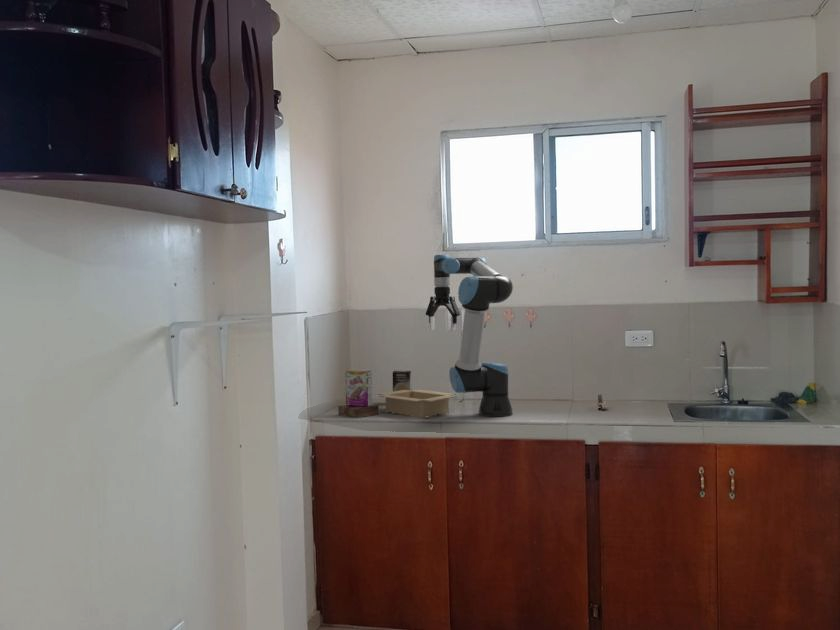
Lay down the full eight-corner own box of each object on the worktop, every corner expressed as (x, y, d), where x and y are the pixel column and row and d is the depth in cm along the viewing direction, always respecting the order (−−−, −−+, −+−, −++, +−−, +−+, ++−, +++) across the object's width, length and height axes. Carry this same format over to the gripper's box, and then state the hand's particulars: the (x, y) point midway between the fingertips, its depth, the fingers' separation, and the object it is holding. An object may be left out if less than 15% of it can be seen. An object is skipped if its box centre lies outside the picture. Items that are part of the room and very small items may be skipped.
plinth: (378, 414, 346) (378, 405, 346) (357, 418, 337) (357, 409, 337) (359, 411, 355) (359, 402, 355) (338, 414, 346) (338, 406, 346)
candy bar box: (345, 406, 345) (344, 370, 344) (350, 404, 350) (349, 369, 349) (368, 407, 341) (367, 371, 341) (372, 405, 346) (371, 369, 345)
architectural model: (605, 409, 352) (605, 393, 351) (605, 411, 345) (605, 395, 345) (597, 409, 352) (597, 393, 352) (597, 411, 346) (597, 395, 345)
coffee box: (392, 404, 373) (391, 372, 373) (393, 402, 380) (393, 370, 379) (410, 404, 372) (410, 372, 372) (412, 402, 379) (411, 370, 378)
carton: (464, 412, 347) (463, 394, 347) (425, 420, 328) (424, 402, 328) (411, 404, 371) (411, 388, 370) (372, 412, 352) (372, 394, 352)
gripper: (466, 286, 361) (467, 330, 361) (428, 286, 378) (429, 329, 378) (456, 286, 355) (457, 331, 356) (418, 286, 372) (418, 329, 373)
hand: (442, 330), depth 367 cm, fingers open, 13 cm apart
